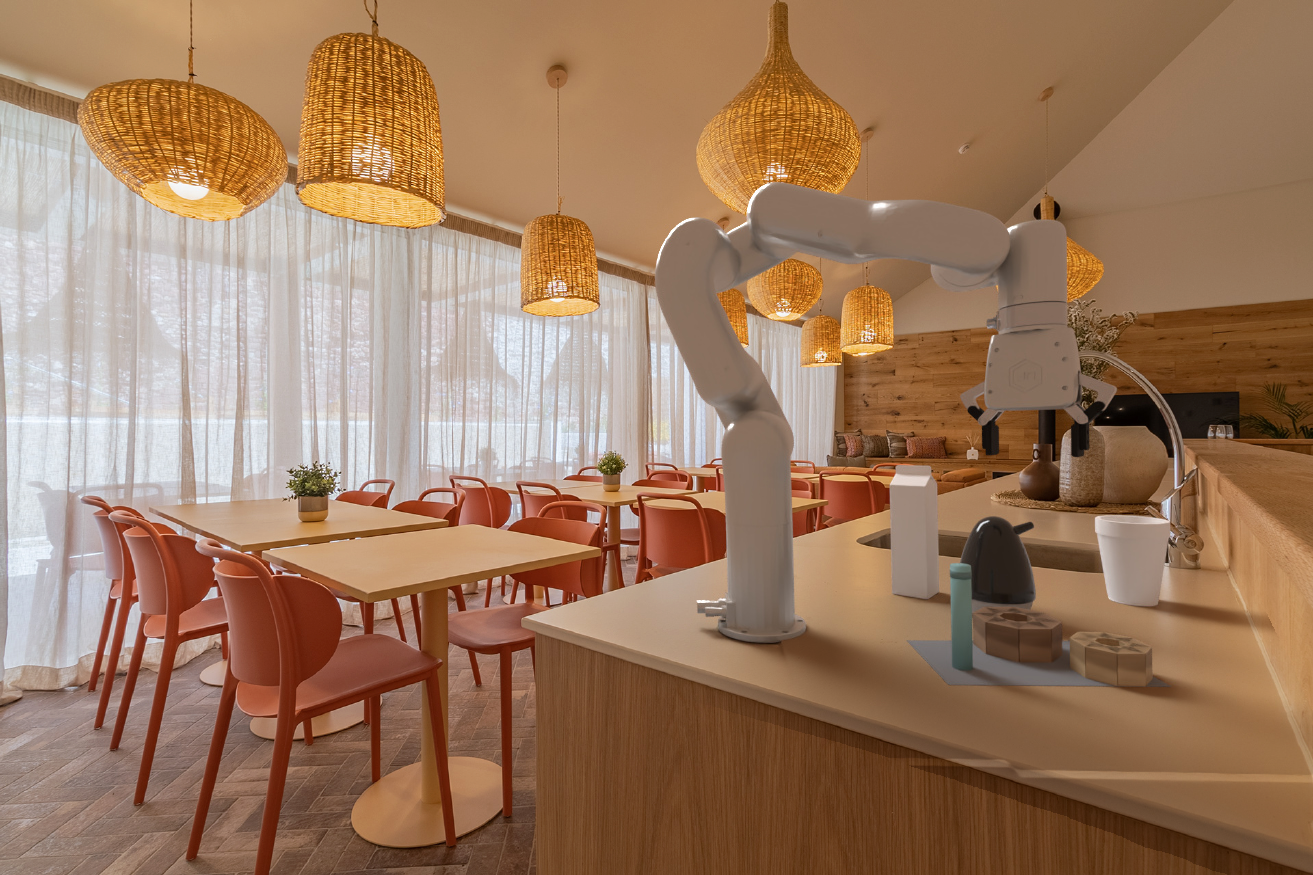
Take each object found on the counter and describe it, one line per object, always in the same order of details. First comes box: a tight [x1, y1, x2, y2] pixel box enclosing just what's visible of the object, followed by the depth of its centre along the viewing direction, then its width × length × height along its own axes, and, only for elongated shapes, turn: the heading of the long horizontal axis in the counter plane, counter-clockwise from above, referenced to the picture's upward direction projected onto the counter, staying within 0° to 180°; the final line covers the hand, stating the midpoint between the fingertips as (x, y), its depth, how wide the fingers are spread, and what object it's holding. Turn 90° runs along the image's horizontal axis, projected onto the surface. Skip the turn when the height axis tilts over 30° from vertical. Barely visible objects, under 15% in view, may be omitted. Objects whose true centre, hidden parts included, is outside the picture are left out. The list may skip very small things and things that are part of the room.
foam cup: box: [1094, 514, 1171, 607], centre depth 97 cm, size 10×9×13 cm
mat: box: [906, 639, 1172, 688], centre depth 73 cm, size 23×14×1 cm, turn 85°
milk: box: [889, 464, 940, 600], centre depth 105 cm, size 6×6×22 cm
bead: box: [972, 607, 1063, 663], centre depth 77 cm, size 9×9×4 cm
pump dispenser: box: [959, 515, 1037, 616], centre depth 90 cm, size 10×10×15 cm
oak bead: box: [1069, 631, 1154, 687], centre depth 69 cm, size 7×7×4 cm
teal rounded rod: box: [949, 562, 973, 671], centre depth 71 cm, size 2×2×12 cm
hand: (1033, 455), depth 78 cm, fingers open, 9 cm apart
